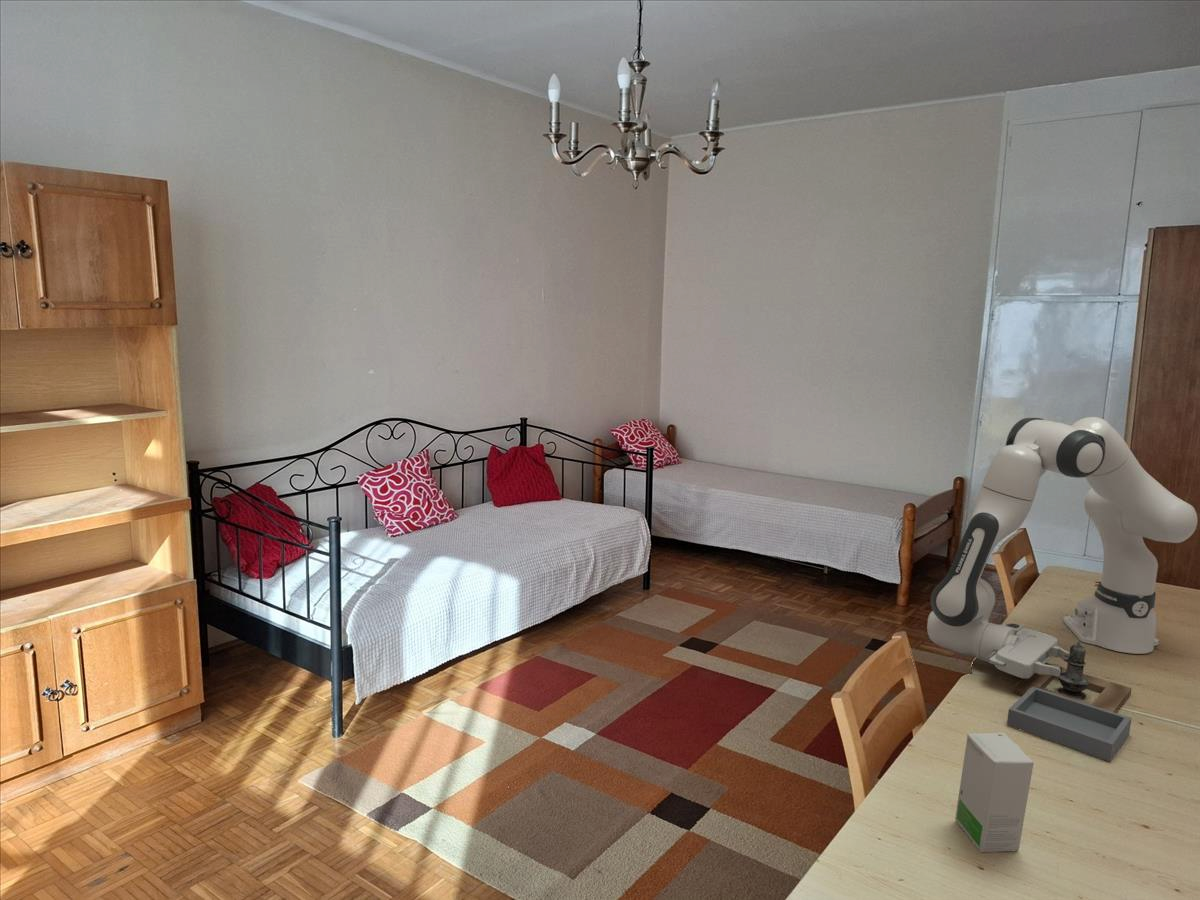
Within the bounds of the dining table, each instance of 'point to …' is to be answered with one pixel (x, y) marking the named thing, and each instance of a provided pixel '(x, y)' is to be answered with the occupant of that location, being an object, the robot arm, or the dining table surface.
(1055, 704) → the parts tray
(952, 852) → the dining table surface
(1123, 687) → the socket block
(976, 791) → the skincare box
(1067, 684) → the dark piece
